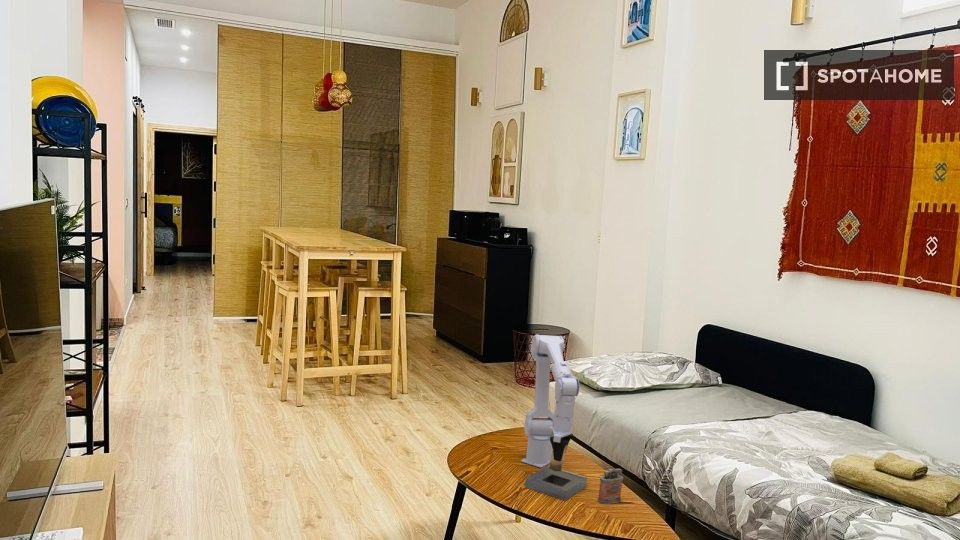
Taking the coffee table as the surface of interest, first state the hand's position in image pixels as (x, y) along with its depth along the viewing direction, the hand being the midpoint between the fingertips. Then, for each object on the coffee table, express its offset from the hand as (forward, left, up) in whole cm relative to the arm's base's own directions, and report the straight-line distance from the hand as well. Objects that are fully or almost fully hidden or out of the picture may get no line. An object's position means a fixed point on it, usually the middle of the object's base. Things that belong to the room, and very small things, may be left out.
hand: (559, 458), depth 228 cm
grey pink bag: (-4, +16, -10) cm, 20 cm away
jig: (-2, -1, -10) cm, 10 cm away
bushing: (0, -1, -3) cm, 4 cm away
